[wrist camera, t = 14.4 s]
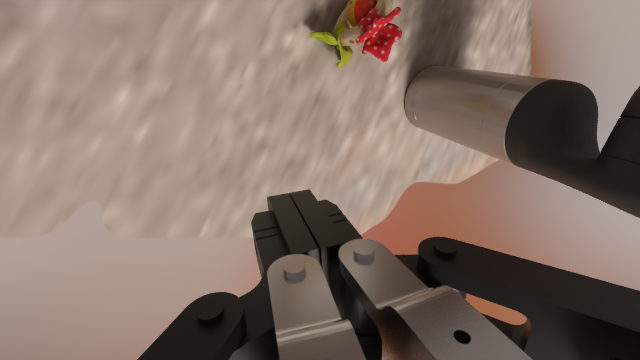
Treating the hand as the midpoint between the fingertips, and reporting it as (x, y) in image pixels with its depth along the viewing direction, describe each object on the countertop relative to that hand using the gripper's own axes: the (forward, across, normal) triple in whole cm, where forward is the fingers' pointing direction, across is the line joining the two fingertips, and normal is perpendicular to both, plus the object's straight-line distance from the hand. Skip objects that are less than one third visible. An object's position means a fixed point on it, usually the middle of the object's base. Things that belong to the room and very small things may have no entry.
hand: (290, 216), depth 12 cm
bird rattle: (+31, +14, +6) cm, 35 cm away
